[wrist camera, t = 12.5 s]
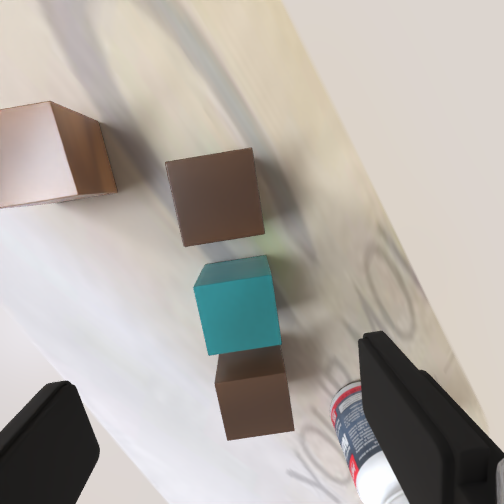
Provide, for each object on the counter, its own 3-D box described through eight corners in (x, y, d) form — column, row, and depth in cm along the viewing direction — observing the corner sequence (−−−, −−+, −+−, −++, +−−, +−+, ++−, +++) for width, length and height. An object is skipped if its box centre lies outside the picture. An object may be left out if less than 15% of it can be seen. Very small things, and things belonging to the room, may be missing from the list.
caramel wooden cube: (29, 132, 17) (-42, 116, 13) (98, 121, 17) (50, 100, 13) (53, 203, 18) (-6, 209, 14) (118, 192, 18) (79, 195, 14)
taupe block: (183, 167, 18) (164, 162, 14) (250, 155, 18) (252, 147, 14) (197, 233, 19) (183, 247, 15) (260, 222, 19) (265, 234, 15)
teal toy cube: (204, 264, 20) (192, 286, 15) (266, 254, 19) (271, 274, 15) (216, 320, 21) (208, 356, 16) (274, 311, 21) (281, 345, 16)
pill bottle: (317, 397, 22) (361, 531, 14) (375, 368, 22) (459, 487, 13) (346, 442, 24) (404, 591, 15) (402, 414, 23) (495, 553, 14)
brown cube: (220, 343, 21) (214, 383, 17) (277, 334, 21) (286, 372, 17) (230, 391, 22) (227, 441, 18) (285, 383, 22) (294, 431, 18)
